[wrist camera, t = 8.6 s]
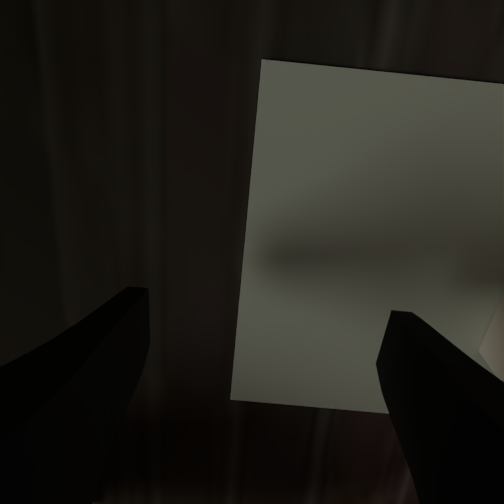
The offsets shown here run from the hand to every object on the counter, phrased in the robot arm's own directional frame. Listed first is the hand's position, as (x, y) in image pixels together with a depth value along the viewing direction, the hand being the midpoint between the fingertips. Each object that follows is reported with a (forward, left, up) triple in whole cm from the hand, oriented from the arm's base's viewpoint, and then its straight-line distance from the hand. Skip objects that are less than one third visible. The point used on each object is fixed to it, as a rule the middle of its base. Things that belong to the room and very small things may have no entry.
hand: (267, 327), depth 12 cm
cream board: (+8, 0, -4) cm, 9 cm away
